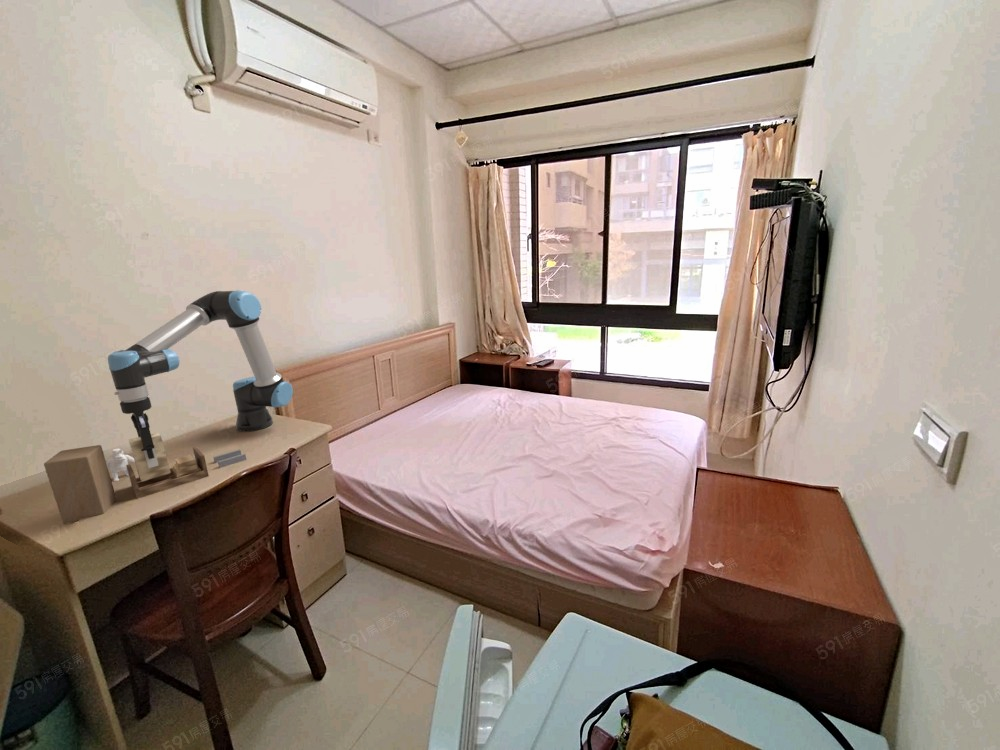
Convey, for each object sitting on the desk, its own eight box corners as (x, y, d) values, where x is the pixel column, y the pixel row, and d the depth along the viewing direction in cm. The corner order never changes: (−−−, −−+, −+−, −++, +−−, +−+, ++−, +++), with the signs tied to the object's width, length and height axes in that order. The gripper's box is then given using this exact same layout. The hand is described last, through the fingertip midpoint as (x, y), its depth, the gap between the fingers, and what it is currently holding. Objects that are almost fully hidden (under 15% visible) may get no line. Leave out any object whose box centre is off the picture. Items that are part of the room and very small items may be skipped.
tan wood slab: (168, 469, 152) (158, 432, 148) (170, 472, 149) (160, 435, 145) (139, 477, 146) (128, 439, 143) (141, 481, 144) (130, 442, 140)
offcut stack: (196, 469, 160) (193, 452, 158) (202, 475, 154) (198, 459, 153) (173, 475, 155) (169, 459, 153) (178, 483, 149) (174, 466, 148)
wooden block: (78, 508, 137) (60, 450, 132) (118, 500, 141) (101, 444, 136) (62, 525, 129) (42, 463, 123) (105, 516, 132) (87, 456, 127)
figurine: (113, 487, 150) (104, 456, 147) (104, 484, 153) (95, 452, 150) (144, 476, 158) (136, 445, 155) (134, 472, 161) (126, 442, 158)
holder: (241, 455, 173) (239, 447, 172) (249, 462, 166) (248, 454, 165) (212, 463, 166) (210, 456, 165) (219, 471, 159) (218, 463, 158)
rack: (200, 468, 162) (195, 446, 160) (209, 478, 154) (204, 455, 152) (132, 489, 149) (126, 465, 146) (137, 501, 140) (131, 476, 138)
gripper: (116, 396, 144) (134, 461, 150) (122, 407, 132) (142, 476, 138) (144, 391, 149) (161, 453, 155) (153, 401, 137) (170, 468, 143)
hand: (152, 464), depth 147 cm, fingers closed on tan wood slab, 4 cm apart
